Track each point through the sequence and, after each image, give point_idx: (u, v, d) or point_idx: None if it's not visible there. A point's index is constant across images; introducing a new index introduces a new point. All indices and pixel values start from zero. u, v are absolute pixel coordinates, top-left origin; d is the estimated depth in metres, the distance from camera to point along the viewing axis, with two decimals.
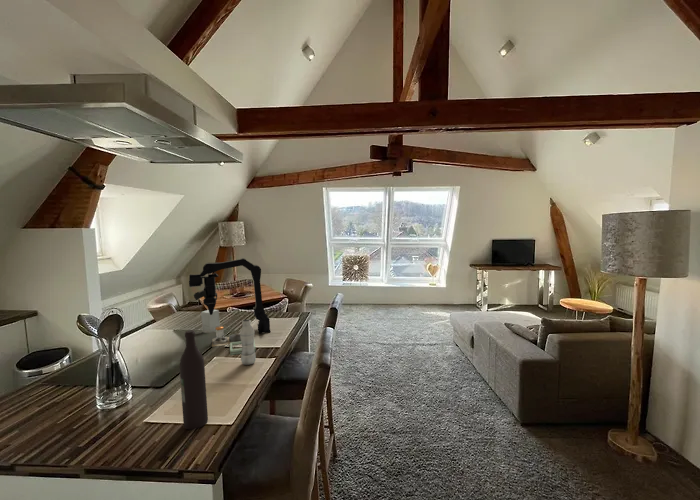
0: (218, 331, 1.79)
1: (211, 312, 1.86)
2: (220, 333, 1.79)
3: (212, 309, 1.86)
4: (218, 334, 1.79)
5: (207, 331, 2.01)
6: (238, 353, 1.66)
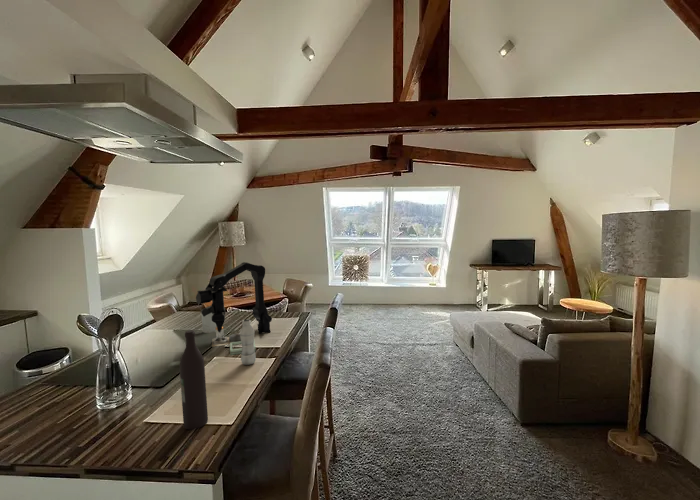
0: None
1: (219, 329, 1.76)
2: (220, 333, 1.79)
3: (220, 326, 1.76)
4: (218, 334, 1.79)
5: (207, 331, 2.01)
6: (238, 353, 1.66)
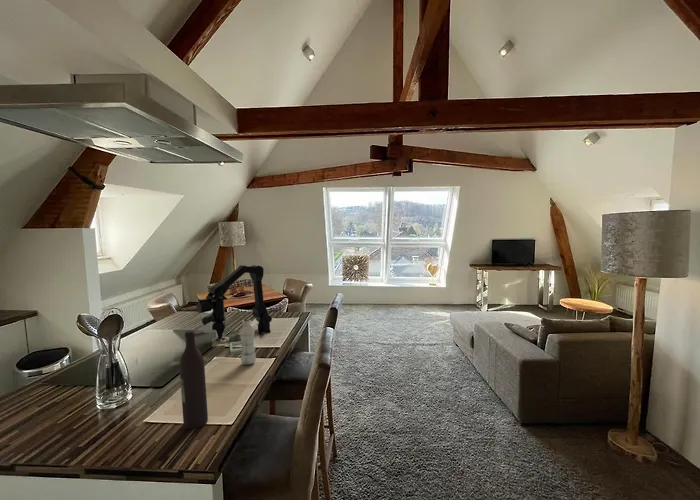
0: None
1: (220, 336, 1.79)
2: None
3: (221, 333, 1.78)
4: None
5: (207, 331, 2.01)
6: (238, 353, 1.66)
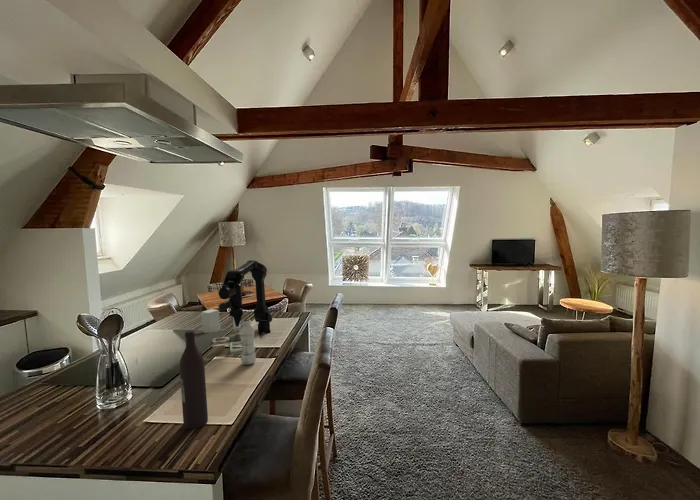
0: None
1: (237, 324, 1.70)
2: None
3: (238, 320, 1.70)
4: None
5: (207, 331, 2.01)
6: (238, 353, 1.66)
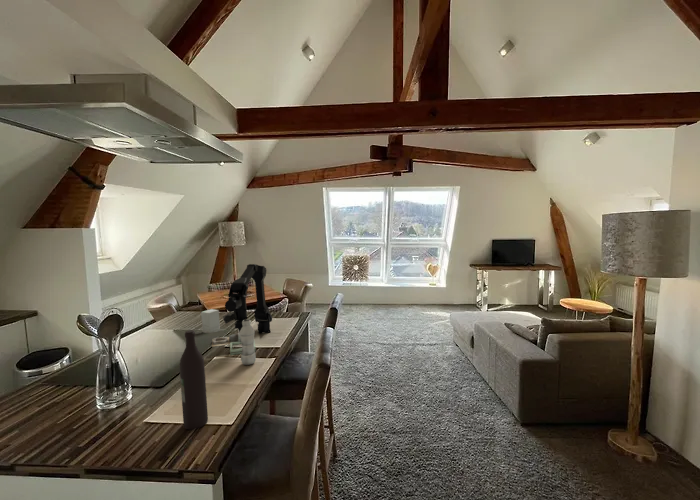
0: None
1: None
2: None
3: None
4: None
5: (207, 331, 2.01)
6: (238, 353, 1.66)
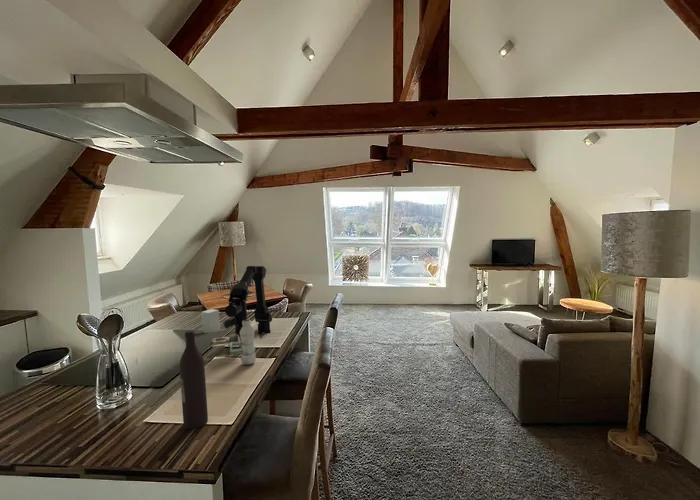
0: None
1: None
2: None
3: None
4: None
5: (207, 331, 2.01)
6: (238, 353, 1.66)
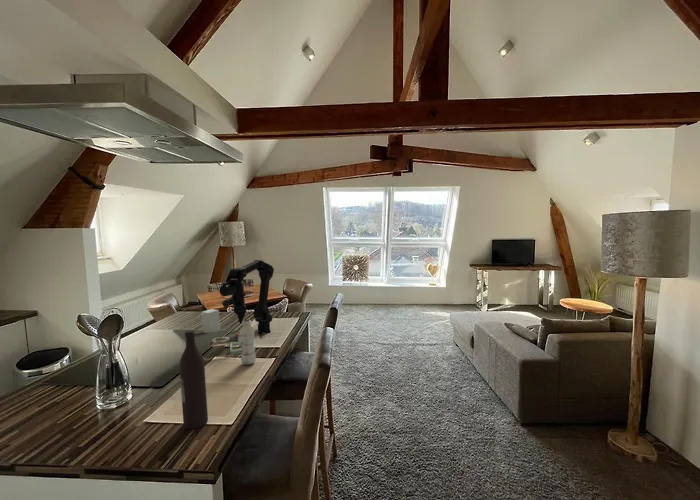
0: None
1: (241, 320, 1.77)
2: None
3: (242, 317, 1.77)
4: (240, 340, 1.71)
5: (207, 331, 2.01)
6: (238, 353, 1.66)
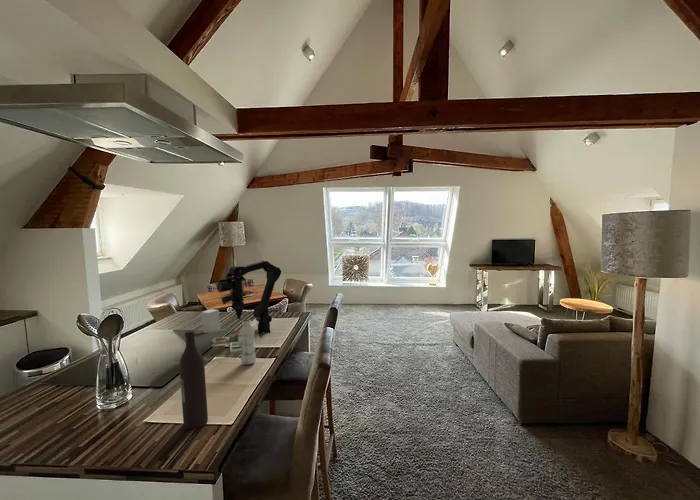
0: None
1: (239, 316, 1.83)
2: None
3: (240, 313, 1.83)
4: (240, 340, 1.71)
5: (207, 331, 2.01)
6: (238, 353, 1.66)
